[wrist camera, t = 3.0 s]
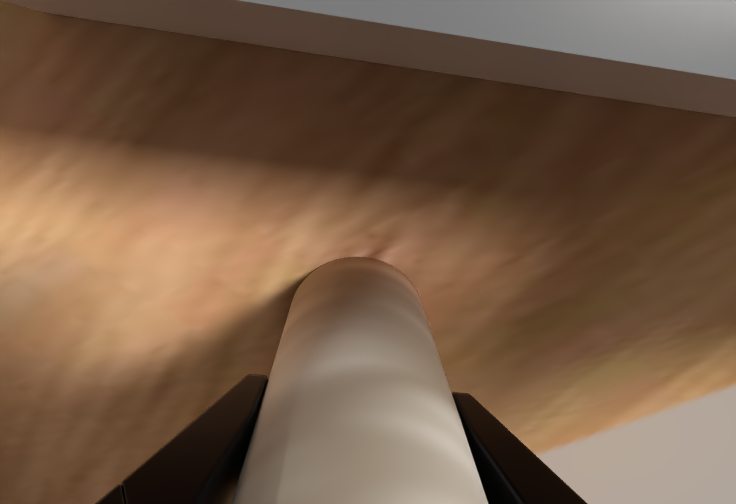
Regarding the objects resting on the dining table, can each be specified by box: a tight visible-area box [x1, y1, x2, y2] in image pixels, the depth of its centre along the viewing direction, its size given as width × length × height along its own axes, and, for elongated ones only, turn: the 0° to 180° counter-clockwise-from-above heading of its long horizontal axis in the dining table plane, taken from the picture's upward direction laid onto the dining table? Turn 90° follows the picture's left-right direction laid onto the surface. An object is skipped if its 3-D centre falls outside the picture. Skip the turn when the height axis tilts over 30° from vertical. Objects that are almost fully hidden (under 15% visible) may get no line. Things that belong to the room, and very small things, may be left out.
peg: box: [231, 257, 488, 504], centre depth 8 cm, size 4×4×10 cm
